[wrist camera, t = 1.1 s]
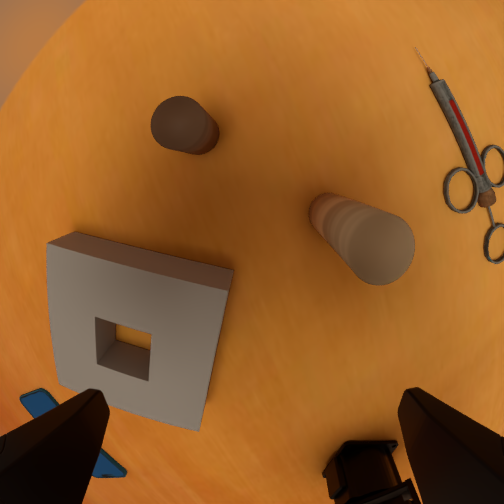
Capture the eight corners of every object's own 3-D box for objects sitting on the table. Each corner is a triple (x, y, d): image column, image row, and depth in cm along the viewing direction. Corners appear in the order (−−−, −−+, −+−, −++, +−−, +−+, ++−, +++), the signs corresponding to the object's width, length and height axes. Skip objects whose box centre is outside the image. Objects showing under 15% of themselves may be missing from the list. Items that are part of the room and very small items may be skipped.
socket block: (233, 270, 20) (228, 291, 16) (205, 402, 23) (199, 431, 19) (74, 231, 19) (46, 243, 16) (77, 361, 22) (59, 384, 19)
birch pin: (352, 198, 18) (423, 224, 10) (342, 237, 19) (401, 291, 10) (314, 188, 18) (361, 204, 10) (304, 228, 19) (339, 277, 10)
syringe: (442, 39, 15) (452, 33, 13) (520, 235, 19) (532, 240, 17) (371, 66, 16) (380, 59, 15) (466, 281, 20) (477, 288, 18)
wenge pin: (223, 117, 17) (210, 99, 12) (213, 158, 18) (197, 154, 13) (183, 111, 17) (158, 93, 12) (174, 150, 18) (145, 145, 13)
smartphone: (43, 388, 24) (129, 477, 26) (47, 383, 24) (131, 471, 27) (16, 397, 25) (94, 478, 28) (20, 393, 26) (96, 473, 28)
